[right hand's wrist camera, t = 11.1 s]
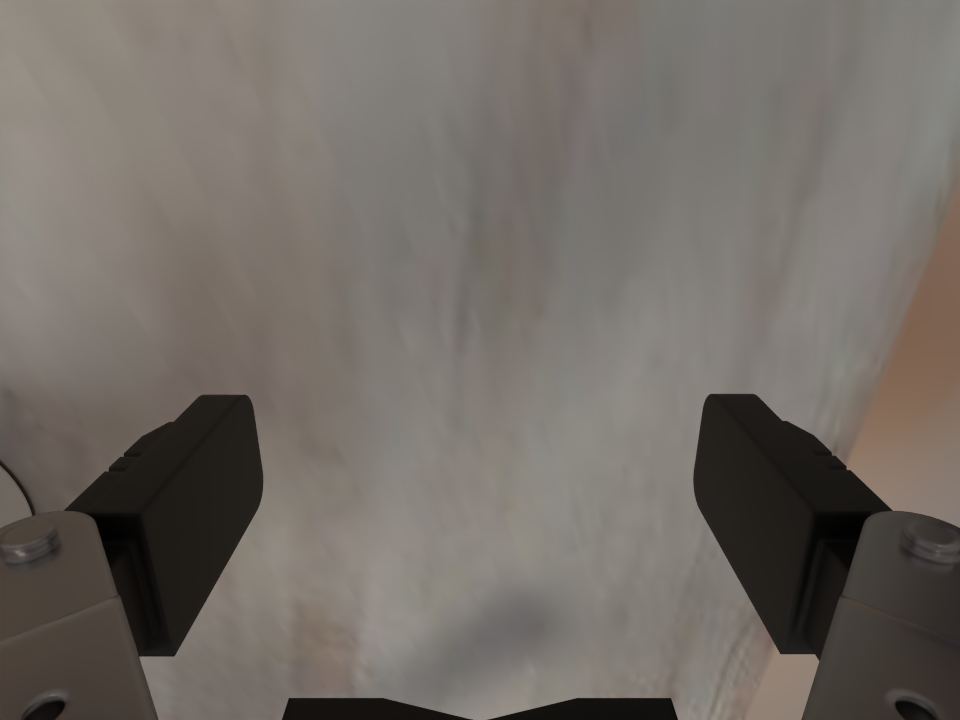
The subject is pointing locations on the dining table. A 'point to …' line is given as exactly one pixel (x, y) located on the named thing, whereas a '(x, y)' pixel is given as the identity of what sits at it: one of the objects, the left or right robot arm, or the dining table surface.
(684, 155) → the dining table surface
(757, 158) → the dining table surface
